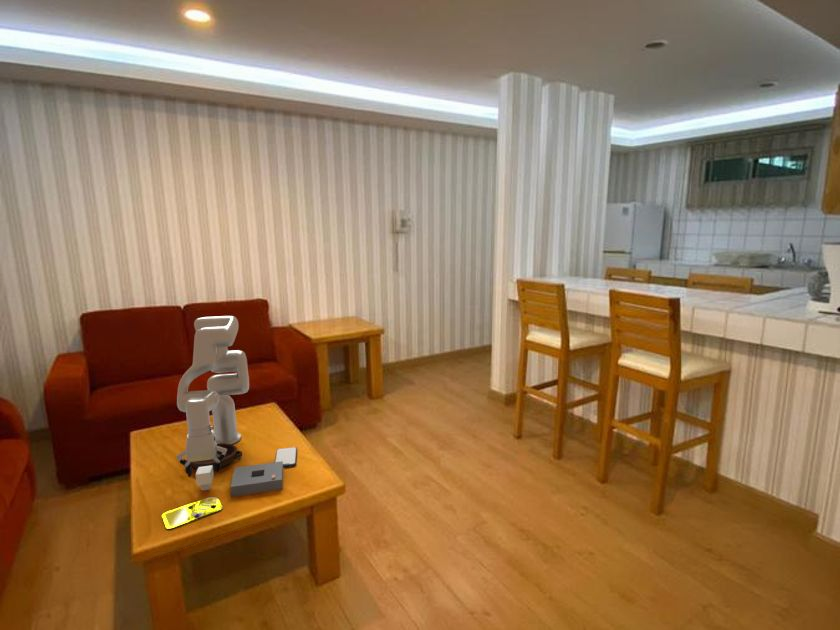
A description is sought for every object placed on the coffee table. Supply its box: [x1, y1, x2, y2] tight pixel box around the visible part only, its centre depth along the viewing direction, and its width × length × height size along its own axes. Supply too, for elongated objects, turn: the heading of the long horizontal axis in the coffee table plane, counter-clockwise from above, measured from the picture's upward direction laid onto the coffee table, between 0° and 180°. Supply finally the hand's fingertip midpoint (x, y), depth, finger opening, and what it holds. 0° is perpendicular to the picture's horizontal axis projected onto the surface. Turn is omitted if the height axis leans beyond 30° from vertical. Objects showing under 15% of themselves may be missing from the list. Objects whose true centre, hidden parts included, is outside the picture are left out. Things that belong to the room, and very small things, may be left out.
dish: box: [185, 443, 243, 471], centre depth 192 cm, size 18×22×5 cm
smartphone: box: [274, 446, 298, 469], centre depth 195 cm, size 9×2×16 cm
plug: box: [195, 465, 215, 491], centre depth 174 cm, size 6×5×8 cm
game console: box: [161, 496, 224, 531], centre depth 159 cm, size 18×11×2 cm, turn 129°
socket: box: [230, 461, 284, 498], centre depth 177 cm, size 14×18×5 cm
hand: (204, 473), depth 173 cm, fingers open, 9 cm apart
